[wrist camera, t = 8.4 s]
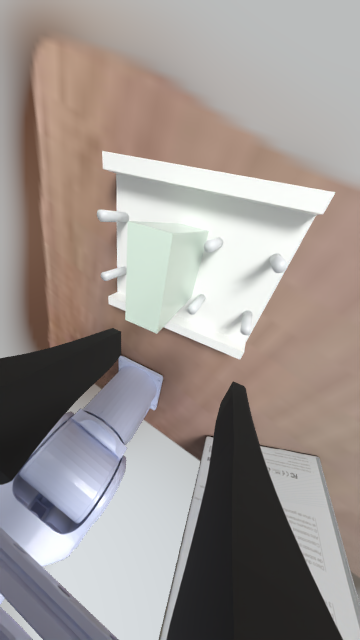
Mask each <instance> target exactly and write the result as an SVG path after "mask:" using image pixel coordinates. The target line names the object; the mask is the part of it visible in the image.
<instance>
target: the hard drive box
mask: <svg viewBox="0 0 360 640" xmlns="http://www.w3.org/2000/svg"><path fill="white" fill-rule="evenodd" d="M213 438H214V437H209V436H207V437H206V439H205V444H204V449H203V453H202V457H201V462H200V467H199V471H198V475H197V479H196V484H195V488H194V492H193V496H192V500H191V504H190V509H189V513H188V517H187V521H186V525H185V530H184V534H183V538H182V543H181V547H180V551H179V555H178V560H177V563H176V568H175V572H174V577H173V581H172V586H171V590H170V594H169V598H168V603H167V607H166V610H165V615H164V620H163V624H162V627H161V631H160V636H159V640H166V639H167V635H168V630H169V626H170V621H171V617H172V614H173V610H174V607H175V603H176V599H177V596H178V592H179V588H180V584H181V581H182V577H183V573H184V570H185V566H186V562H187V558H188V554H189V550H190V546H191V542H192V539H193V535H194V531H195V527H196V523H197V518H198V514H199V510H200V506H201V502H202V498H203V494H204V489H205V485H206V481H207V476H208V470H209V464H210V457H211V451H212V444H213ZM260 448H261V451H262V454H263V457H264V460H265V463H266V466H267V469H268V471H269V474H270V477H271V480H272V482H273V485H274V488H275V490H276V493H277V495H278V498H279V500H280V503H281V505H282V508H283V510H284V513H285V515H286V517H287V520H288V522H289V525H290V527H291V529H292V531H293V534H294V536H295V538H296V540H297V542H298V545H299V547H300V549H301V551H302V554H303V556H304V558H305V560H306V563H307V565H308V567H309V569H310V572H311V574H312V576H313V578H314V580H315V582H316V584H317V586H318V589H319V591H320V593H321V595H322V597H323V599H324V601H325V603H326V605H327V607H328V610H329V612H330V614H331V616H332V618H333V620H334V622H335V624H336V626H337V628H338V630H339V632H340V634H341V636H342V638H343V640H360V603H359V600H358V596H357V592H356V589H355V585H354V582H353V578H352V575H351V571H350V568H349V564H348V560H347V557H346V553H345V550H344V546H343V542H342V539H341V535H340V532H339V528H338V524H337V521H336V517H335V513H334V510H333V506H332V503H331V499H330V495H329V492H328V488H327V484H326V481H325V477H324V474H323V470H322V466H321V462H320V458H319V457H317V456H312V455H306V454H301V453H296V452H292V451H287V450H282V449H274V448H269V447H263V446H260Z"/></svg>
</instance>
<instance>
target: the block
mask: <svg viewBox="0 0 360 640" xmlns="http://www.w3.org/2000/svg"><path fill="white" fill-rule="evenodd" d="M208 233H209V231H208V230H204V229H200V228H197V227H193V226H189V225H185V224H181V223H162V222H139V221H128V226H127V271H126V316H125V320H127V321H129V322H132V323H134V324H136V325H138V326H141V327H143V328H145V329H147V330H150V331H152V332H154V333H158V332H159V331H160V330H161V329H162V328H163V327H164V326H165V325H166V324H167V323H168V322H169V321H170V320H171V318H172V317H173V316H174V315H175V314H176V313H177V312H178V311H179V310H180V309H181V308H182V307H183V306H184V305H185V304H186V303H187V302H188V301H189V300H190V298H191V297H192V294H193V290H194V286H195V282H196V278H197V275H198V271H199V267H200V263H201V259H202V256H203V252H204V243H205V242H206V240H207V237H208Z"/></svg>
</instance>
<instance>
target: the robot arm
mask: <svg viewBox="0 0 360 640" xmlns="http://www.w3.org/2000/svg"><path fill="white" fill-rule="evenodd" d="M118 358H119V372H118V373H117V374H116V375H115V376H114V377H113V378H112V379H111V380H110V381H109V382H108V383H107V384H106V385H105V386H104V387H103V388H102V390H101V391H100V392H99V393H98V394H97V395H96V396H95V397H94V398H93V399H92V400H91V401H90V402H89V403H88V404H87V405H86V406H85V407H84V408H83V409H79V410H78V411H77V413H75V414H74V413H72V412H68V413H66V412H67V411H68V410H69V408H70V407H71V406H72V405H73V404H74V403H75V402H76V401H77V400H78V398H80V397H81V396H82V395H83V394H84V393H85V392H86V391H87V390H88V389H89V388H90V387H91V386H92V385H93V384H94V383H95V382H96V381H97V380H98V379H99V378H101V377H102V376H103V375H104V374H105V373H106V372H107V371H108V370H109V369H110V368H111V367H112V366H113V364H114V363H115V362H116V361H117V359H118ZM162 381H163V376H162V375H160V374H158V373H156V372H154V371H152V370H150V369H148V368H146V367H144V366H142V365H140V364H138V363H136V362H134V361H132V360H130V359H128V358H126V357H124V356H121V331H118V330H116V329H114V328H112V329H108V330H105V331H102V332H99V333H96V334H93V335H90V336H87V337H84V338H81V339H78V340H75V341H72V342H69V343H65V344H62V345H59V346H55V347H52V348H48V349H44V350H40V351H36V352H31V353H27V354H22V355H17V356H11V357H5V358H0V604H1V603H2V602H3V600H4V599H6V600H7V601H8V602H9V603H10V604H11V605H12V606H13V607H14V608H15V610H16V611H17V612H18V613H19V614H20V615H21V616H22V617H23V618H24V619H25V620H26V622H28V624H29V625H30V626H31V627H32V628H33V629H34V630H35V631H36V632H37V634H38V635H39V636H40V637H41V638H42V639H43V640H118V639H117V638H116V637H115V636H114V635H113V634H112V633H111V632H110V631H109V630H108V629H107V628H106V627H105V626H104V625H103V624H101V623H100V622H99V621H98V620H97V619H96V618H95V617H94V616H93V615H92V614H91V613H90V612H89V611H88V610H87V609H86V608H85V607H84V606H82V605H81V604H80V603H79V602H78V601H77V600H76V599H75V598H74V597H73V596H72V595H71V594H70V593H69V592H68V591H67V590H66V589H65V588H64V587H63V586H62V585H61V584H60V583H58V582H57V581H56V580H55V579H54V578H53V577H52V576H51V575H50V574H49V573H48V572H47V571H46V570H45V569H44V568H43V566H46V565H49V564H52V563H55V562H58V561H61V560H63V559H66V558H67V557H69V556H70V554H71V552H72V551H73V550H74V549H75V548H77V546H78V545H79V543H80V542H81V540H82V539H83V537H84V536H85V534H86V533H87V532H88V530H89V529H90V527H91V526H92V525H93V524H94V523H95V522H96V521H97V520H98V519H99V517H100V516H101V514H102V513H103V512H104V510H105V509H106V507H107V506H108V504H109V503H110V501H111V499H112V498H113V496H114V494H115V492H116V490H117V488H118V486H119V485H120V482H121V480H122V478H123V475H124V473H125V469H126V457H125V456H124V455H123V454H124V453H125V451H126V449H127V447H126V446H125V445H126V444H127V443H128V442H129V441H130V440H131V439H132V437H133V436H134V434H135V432H136V431H137V429H138V427H139V426H140V424H141V422H142V421H143V419H144V417H145V416H146V414H147V412H148V411H149V409H150V408H151V409H153V410H156V408H157V403H158V399H159V395H160V390H161V386H162ZM0 640H33V639H32V638H31V637H30V636H29V635H28V634H27V633H26V632H25V631H24V630H23V628H21V626H20V625H19V624H18V623H17V622H16V621H15V620H14V619H13V618H12V617H11V616H10V615H8V614H7V613H6V612H5V611H4V610H3V609H2V608H1V607H0ZM166 640H343V638H342V636H341V634H340V632H339V630H338V628H337V626H336V624H335V622H334V620H333V618H332V616H331V614H330V612H329V610H328V607H327V605H326V603H325V601H324V599H323V597H322V595H321V593H320V591H319V589H318V586H317V584H316V582H315V580H314V578H313V576H312V574H311V572H310V569H309V567H308V565H307V563H306V560H305V558H304V556H303V554H302V551H301V549H300V547H299V545H298V542H297V540H296V538H295V536H294V534H293V531H292V529H291V527H290V525H289V522H288V520H287V517H286V515H285V513H284V510H283V508H282V505H281V503H280V500H279V498H278V495H277V493H276V490H275V488H274V485H273V482H272V480H271V477H270V474H269V471H268V469H267V466H266V463H265V460H264V457H263V454H262V451H261V448H260V444H259V441H258V438H257V434H256V431H255V427H254V424H253V420H252V416H251V412H250V408H249V403H248V398H247V393H246V388H245V387H244V386H242V385H240V384H238V383H235V382H233V383H232V384H231V386H230V388H229V390H228V391H227V393H226V395H225V397H224V398H223V400H222V402H221V404H220V408H219V412H218V416H217V420H216V425H215V431H214V438H213V444H212V451H211V457H210V464H209V470H208V476H207V481H206V485H205V489H204V494H203V498H202V502H201V506H200V510H199V514H198V518H197V523H196V527H195V531H194V535H193V539H192V542H191V546H190V550H189V554H188V558H187V562H186V566H185V570H184V573H183V577H182V581H181V584H180V588H179V592H178V596H177V599H176V603H175V607H174V610H173V614H172V617H171V621H170V626H169V630H168V635H167V639H166Z"/></svg>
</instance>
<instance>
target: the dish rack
mask: <svg viewBox="0 0 360 640" xmlns="http://www.w3.org/2000/svg"><path fill="white" fill-rule="evenodd" d="M102 155H103V169H105V170H108V171H110V172H113V173H116V183H117V211H109V210H98V211H97V217H98V219H99V220H100V221H101V222H117V268H116V269H113V270H109V271H106V272H103V273H101V278H102V279H103V280H104V281H107V280H110V279H113V278H116V277H117V292H116V293H114V294H112V295H110V296H108V299H109V304H110V305H112V306H115V307H117V308H120V309H122V310H124V311H126V271H127V226H128V221H139V222H162V223H181V224H185V225H189V226H193V227H197V228H200V229H204V230H208V231H209V233H208V237H207V240H206V242H205V243H204V252H203V256H202V259H201V263H200V267H199V271H198V275H197V278H196V282H195V286H194V290H193V294H192V297H191V298H190V300H189V301H188V302H187V303H186V304H185V305H184V306H183V307H182V308H181V309H180V310H179V311H178V312H177V313H176V314H175V315H174V316H173V317H172V318H171V320H170V321H169V322H168V323H167V324H166V325H165V326H164V328H167V329H169V330H171V331H174V332H176V333H178V334H181V335H183V336H186V337H188V338H190V339H193V340H195V341H197V342H200V343H202V344H204V345H207V346H209V347H211V348H214V349H216V350H219V351H221V352H223V353H226V354H228V355H230V356H233V357H235V358H237V359H241V357H242V355H243V353H244V350H245V343H246V341H247V339H248V337H249V335H250V334H251V332H252V330H253V328H254V326H255V325H256V323H257V321H258V319H259V317H260V315H261V314H262V312H263V310H264V308H265V306H266V305H267V303H268V301H269V299H270V297H271V296H272V294H273V292H274V290H275V288H276V287H277V285H278V283H279V281H280V279H281V277H282V276H283V274H284V272H285V270H286V269H287V267H288V265H289V263H290V261H291V259H292V258H293V256H294V254H295V252H296V250H297V249H298V247H299V245H300V243H301V241H302V239H303V238H304V236H305V234H306V232H307V230H308V229H309V227H310V225H311V223H312V221H313V220H314V218H315V216H316V215H322V214H323V213H324V212H325V210H326V208H327V206H328V205H329V203H330V201H331V199H332V198H333V196H334V194H335V192H330V191H324V190H319V189H313V188H307V187H302V186H296V185H290V184H285V183H279V182H274V181H268V180H262V179H257V178H251V177H245V176H240V175H234V174H229V173H223V172H217V171H212V170H206V169H200V168H195V167H189V166H184V165H178V164H172V163H167V162H161V161H155V160H150V159H144V158H139V157H133V156H127V155H122V154H116V153H110V152H105V151H102Z"/></svg>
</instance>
